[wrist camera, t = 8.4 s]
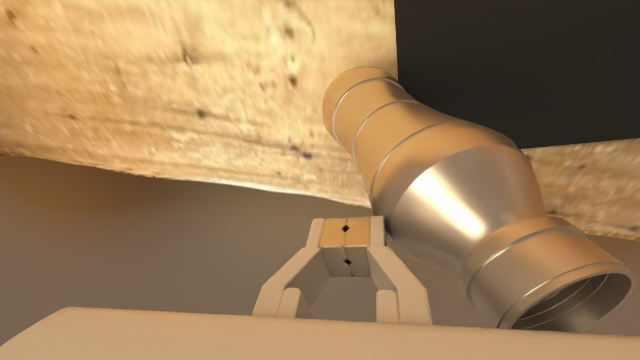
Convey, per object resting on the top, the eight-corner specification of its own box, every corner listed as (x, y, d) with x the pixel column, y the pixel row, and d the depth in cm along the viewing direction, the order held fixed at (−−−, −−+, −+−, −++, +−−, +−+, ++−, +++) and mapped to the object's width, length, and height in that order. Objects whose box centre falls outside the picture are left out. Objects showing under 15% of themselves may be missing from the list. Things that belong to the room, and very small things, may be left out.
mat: (819, -111, 14) (829, -113, 14) (677, 131, 22) (682, 133, 21) (393, -5, 20) (394, -4, 19) (402, 158, 27) (402, 160, 27)
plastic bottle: (384, 133, 26) (599, 352, 9) (315, 136, 25) (423, 391, 8) (396, 62, 23) (768, 207, 6) (317, 61, 21) (508, 239, 5)
